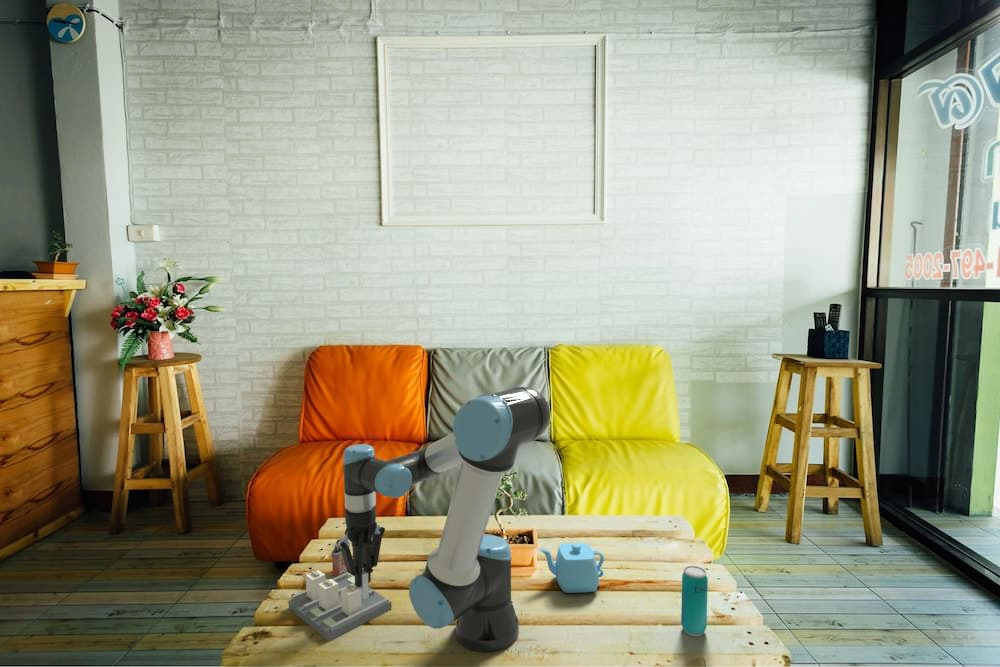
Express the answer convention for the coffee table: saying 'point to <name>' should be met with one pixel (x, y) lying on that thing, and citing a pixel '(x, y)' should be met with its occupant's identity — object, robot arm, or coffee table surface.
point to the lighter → (338, 561)
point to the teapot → (575, 567)
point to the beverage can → (694, 600)
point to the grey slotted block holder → (337, 611)
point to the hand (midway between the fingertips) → (363, 596)
